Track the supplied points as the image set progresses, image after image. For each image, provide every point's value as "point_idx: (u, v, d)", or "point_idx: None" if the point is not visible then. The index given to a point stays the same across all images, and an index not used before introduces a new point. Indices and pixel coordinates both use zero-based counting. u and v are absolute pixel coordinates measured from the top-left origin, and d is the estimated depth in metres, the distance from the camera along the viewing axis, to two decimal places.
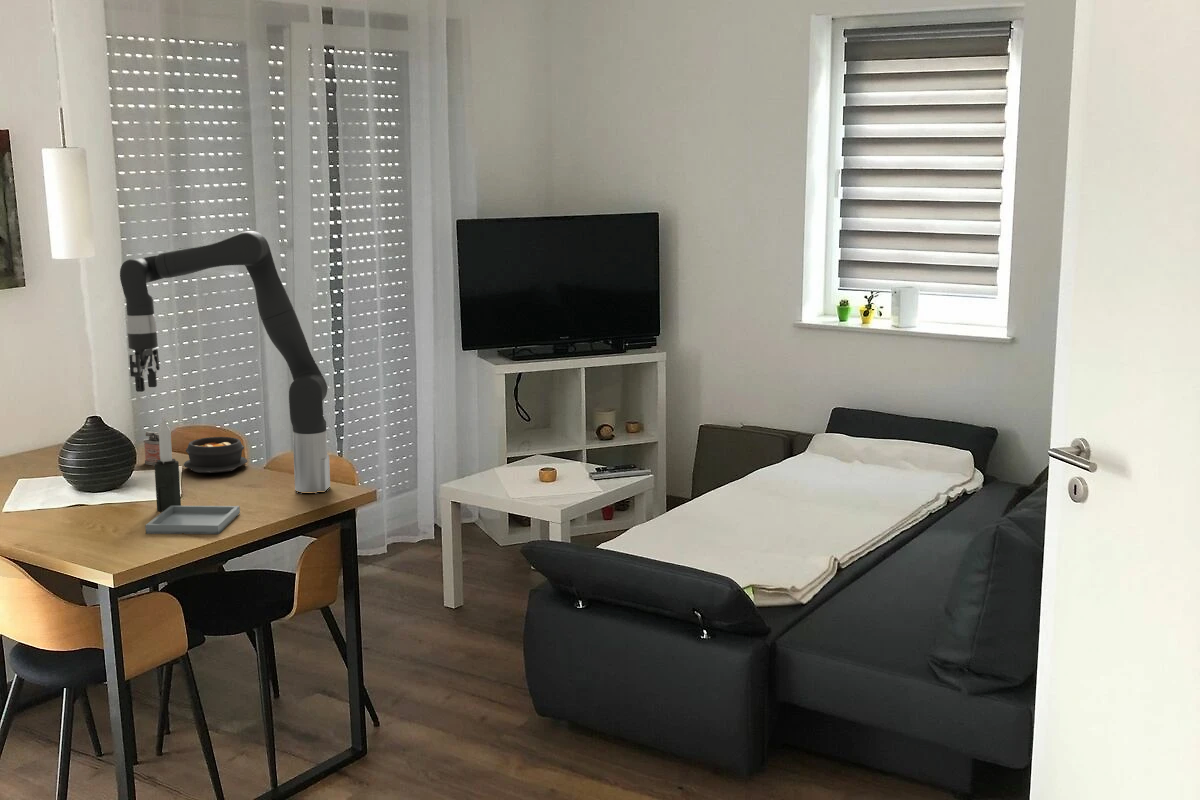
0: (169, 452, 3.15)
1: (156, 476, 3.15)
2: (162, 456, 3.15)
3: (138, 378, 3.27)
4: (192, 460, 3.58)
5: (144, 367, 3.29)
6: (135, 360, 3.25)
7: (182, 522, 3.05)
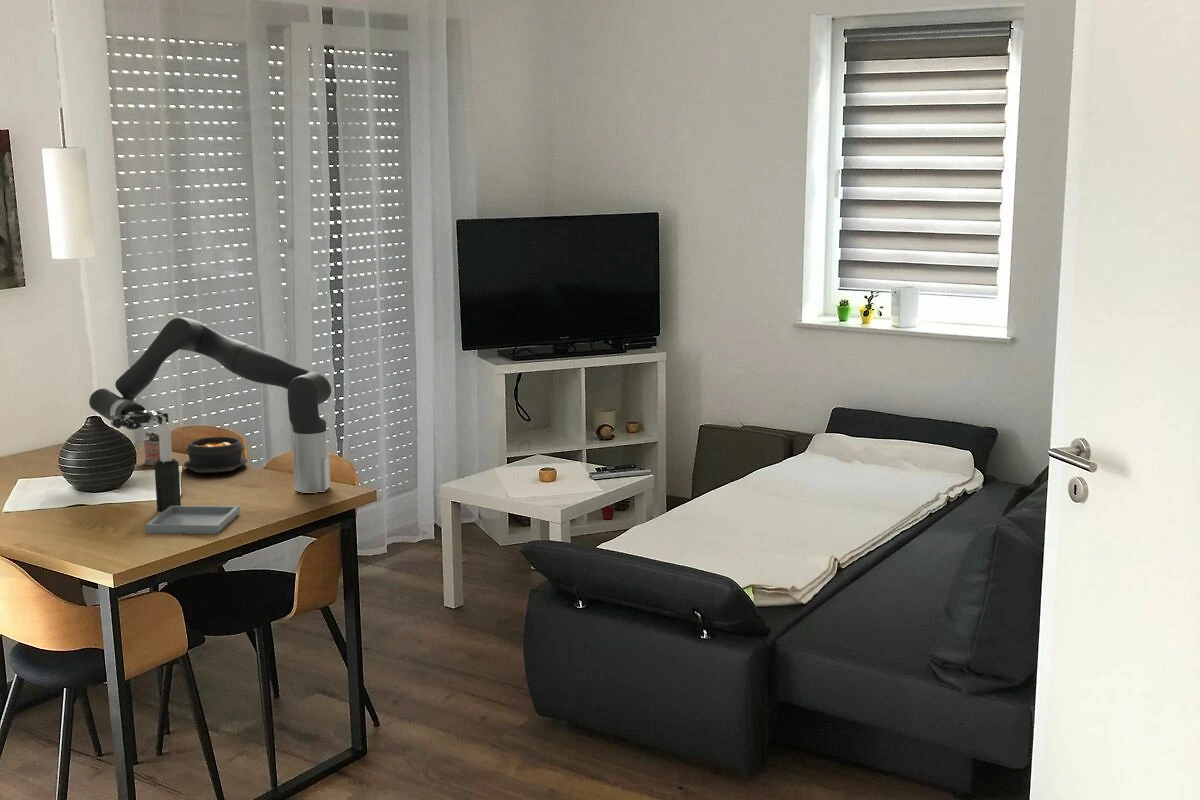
0: (169, 452, 3.15)
1: (156, 476, 3.15)
2: (162, 456, 3.15)
3: (123, 422, 3.23)
4: (192, 460, 3.58)
5: None
6: (111, 419, 3.26)
7: (182, 522, 3.05)
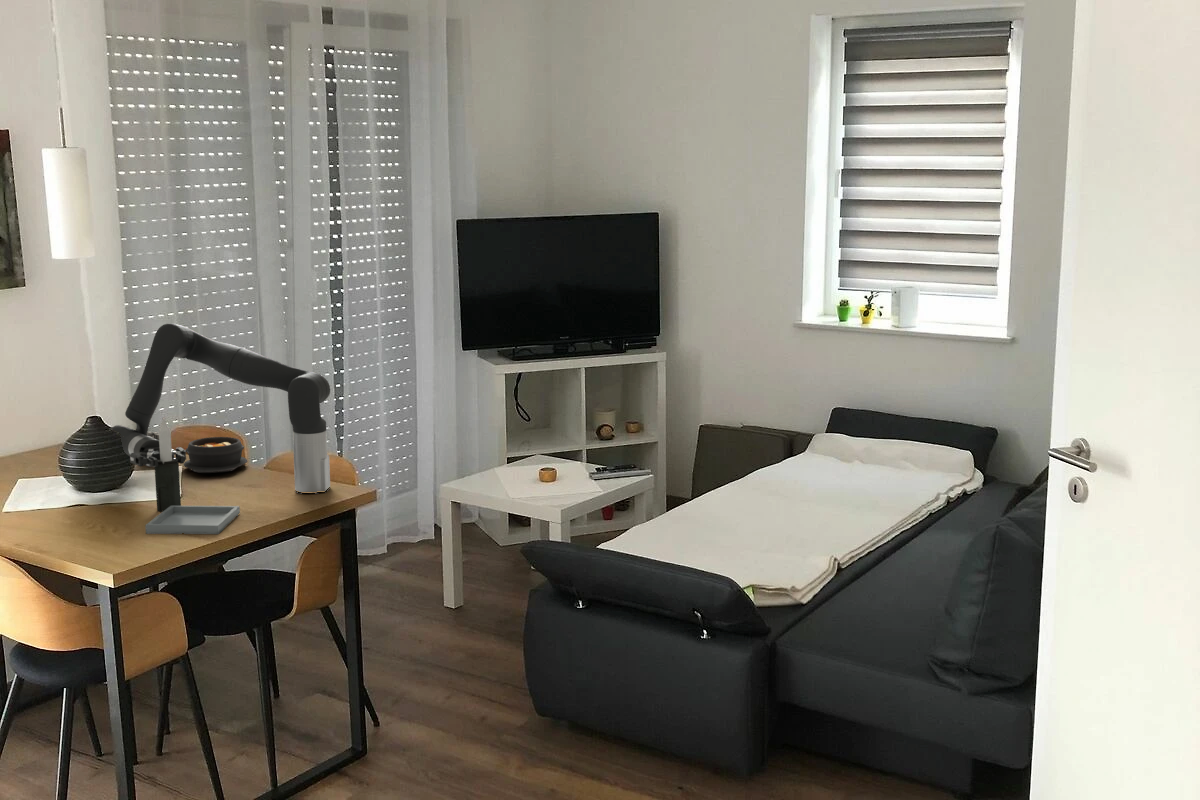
0: (169, 452, 3.15)
1: (156, 476, 3.15)
2: (162, 456, 3.15)
3: (146, 460, 3.14)
4: (192, 460, 3.58)
5: None
6: (132, 457, 3.17)
7: (182, 522, 3.05)
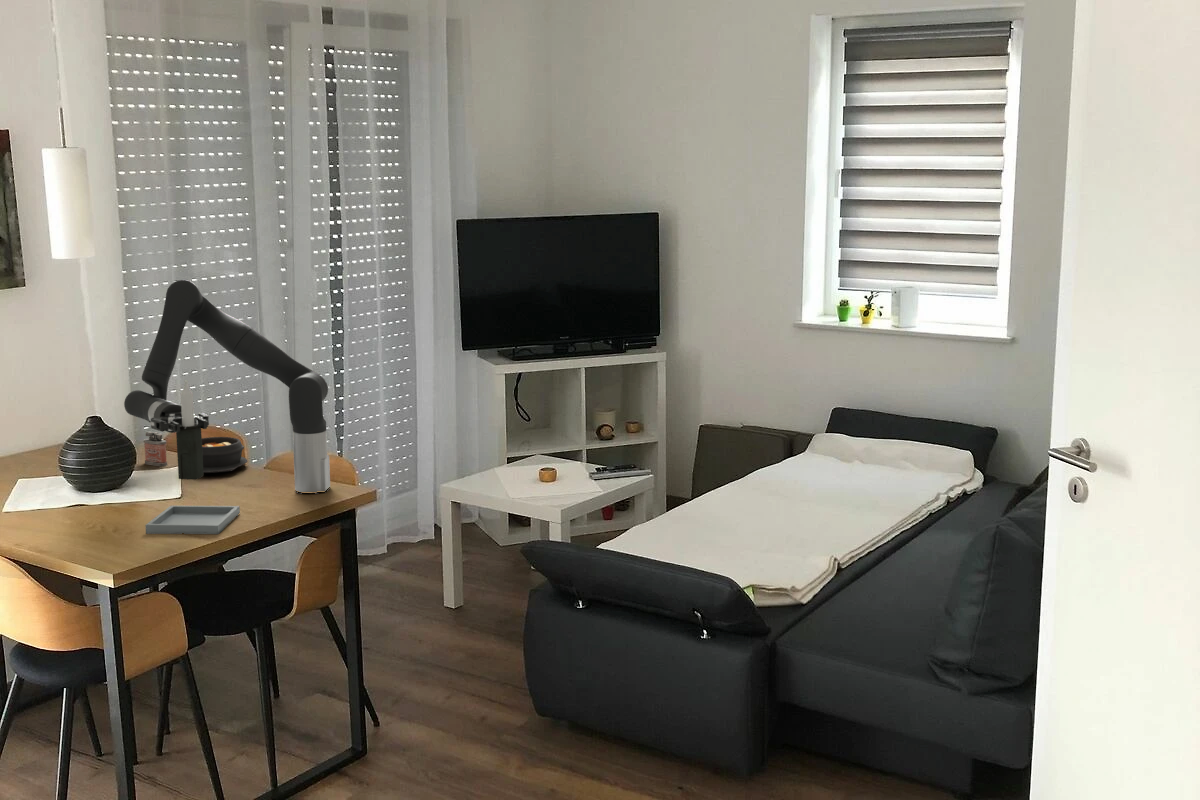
0: (191, 417, 3.00)
1: (178, 442, 3.00)
2: (184, 421, 3.00)
3: (168, 425, 3.00)
4: None
5: None
6: (152, 422, 3.02)
7: (182, 522, 3.05)
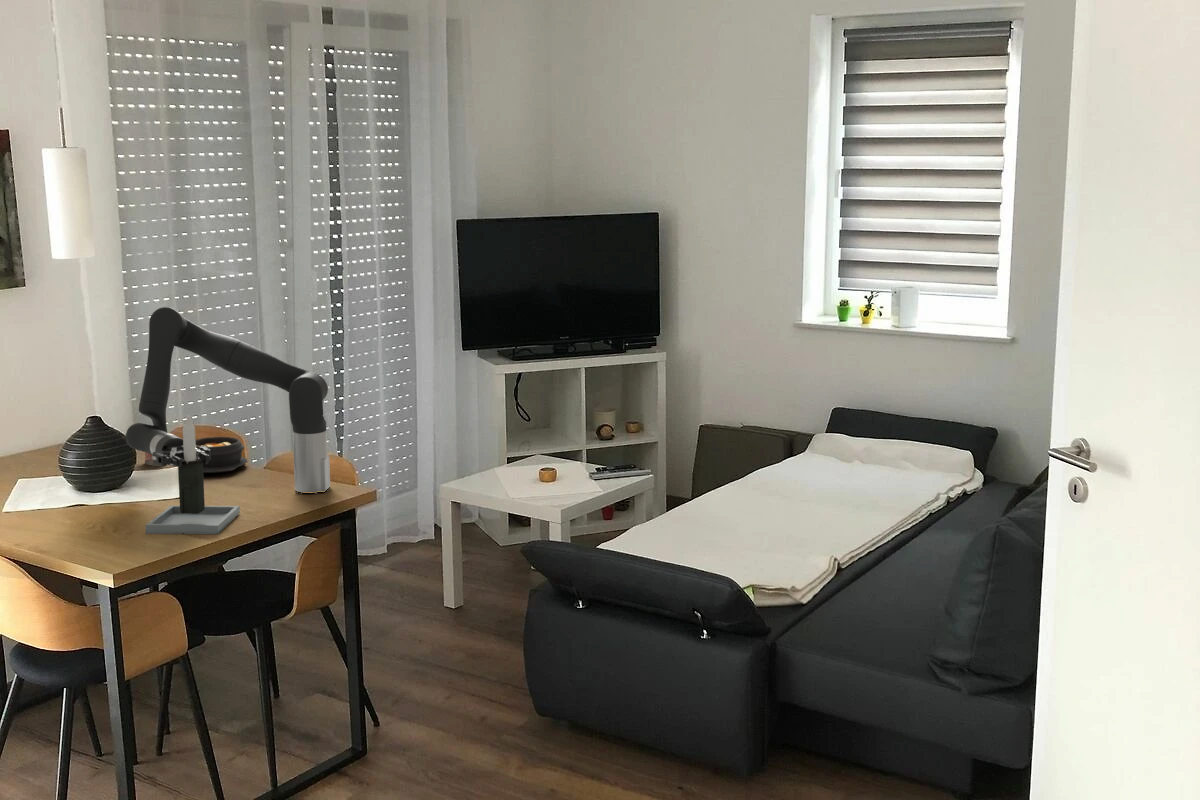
0: (193, 451, 3.02)
1: (179, 476, 3.02)
2: (185, 455, 3.01)
3: (170, 460, 3.01)
4: None
5: None
6: (154, 456, 3.04)
7: (182, 522, 3.05)
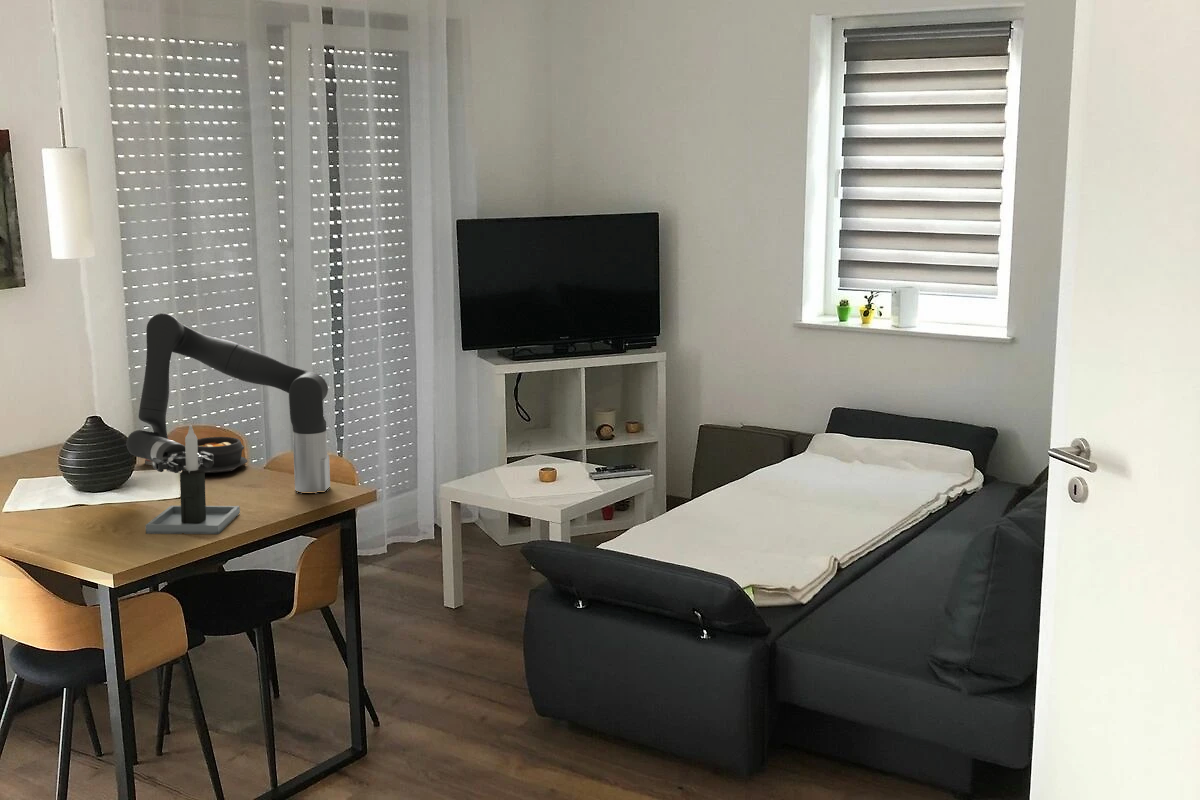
0: (195, 461, 3.03)
1: (181, 486, 3.02)
2: (188, 465, 3.02)
3: (166, 466, 3.01)
4: None
5: None
6: (153, 462, 3.04)
7: None
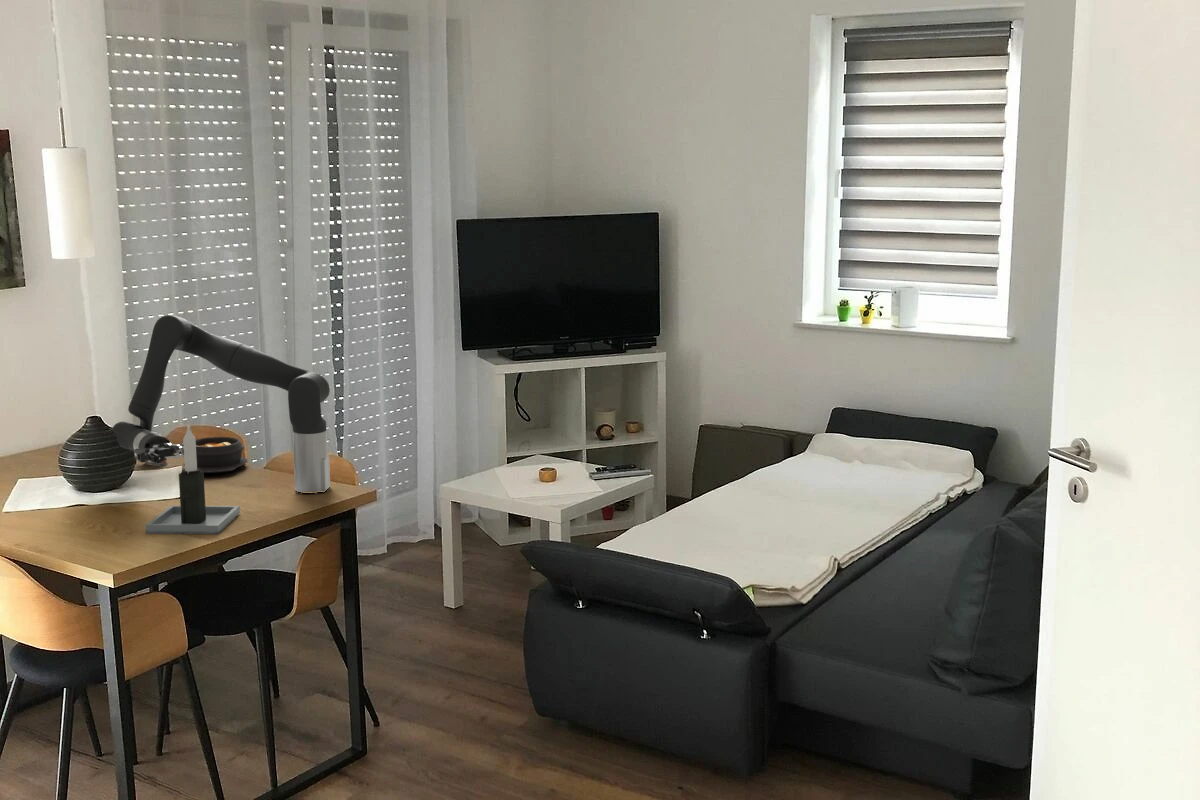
0: (194, 461, 3.02)
1: (180, 486, 3.02)
2: (186, 465, 3.02)
3: (148, 456, 3.11)
4: None
5: None
6: (135, 453, 3.14)
7: None
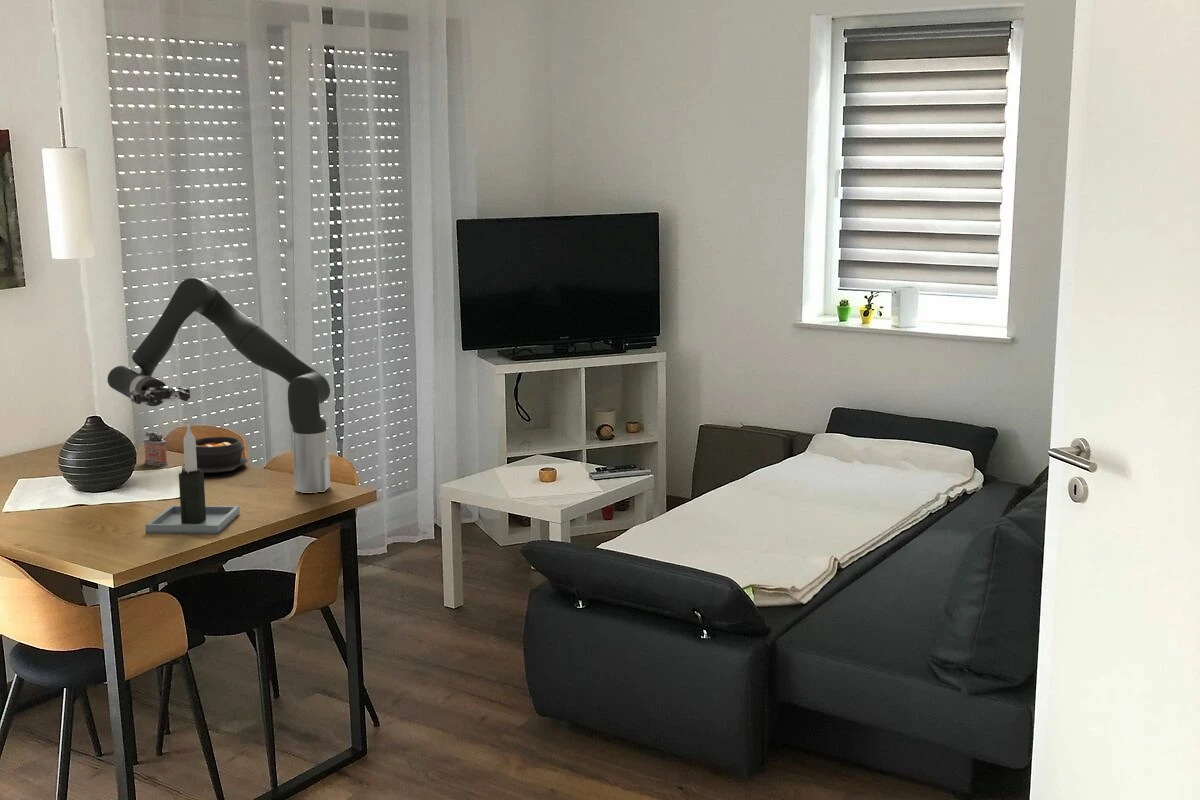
0: (194, 461, 3.02)
1: (180, 486, 3.02)
2: (186, 465, 3.02)
3: (144, 398, 3.12)
4: None
5: None
6: (131, 395, 3.15)
7: None
